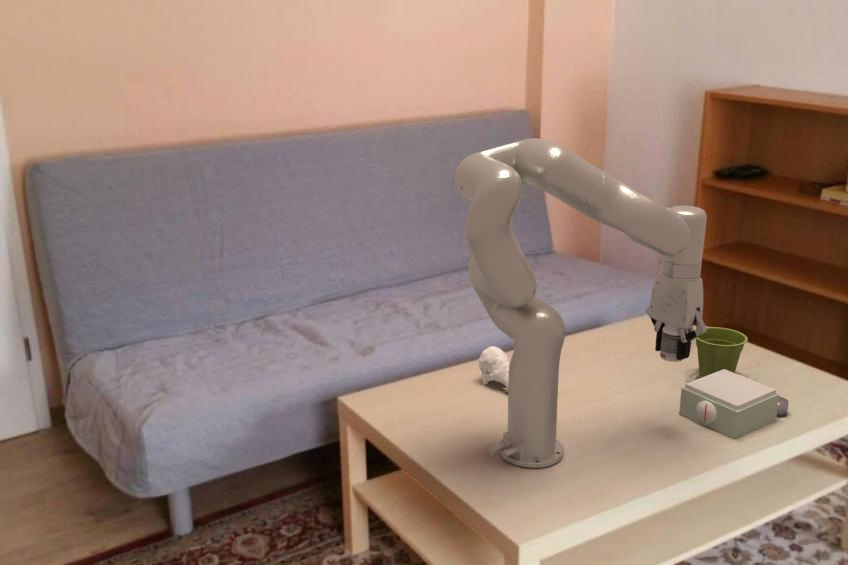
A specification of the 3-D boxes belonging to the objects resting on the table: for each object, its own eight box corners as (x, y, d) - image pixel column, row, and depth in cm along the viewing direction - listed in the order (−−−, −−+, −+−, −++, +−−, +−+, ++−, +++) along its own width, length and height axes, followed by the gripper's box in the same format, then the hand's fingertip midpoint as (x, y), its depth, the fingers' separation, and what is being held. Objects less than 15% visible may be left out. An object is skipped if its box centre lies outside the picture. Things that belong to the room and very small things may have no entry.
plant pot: (753, 383, 205) (758, 337, 201) (720, 396, 198) (725, 349, 195) (711, 366, 214) (715, 322, 210) (678, 378, 207) (682, 333, 204)
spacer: (779, 419, 187) (780, 407, 187) (760, 412, 191) (762, 399, 190) (791, 414, 190) (792, 401, 189) (773, 406, 193) (774, 394, 192)
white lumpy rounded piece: (498, 340, 208) (531, 361, 199) (495, 372, 211) (528, 394, 202) (476, 346, 204) (509, 368, 195) (474, 379, 208) (506, 401, 199)
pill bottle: (684, 363, 178) (688, 324, 175) (660, 361, 179) (664, 322, 176) (682, 354, 182) (687, 316, 180) (659, 352, 183) (663, 314, 181)
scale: (732, 439, 179) (735, 408, 177) (677, 414, 190) (679, 384, 188) (775, 420, 187) (779, 389, 185) (720, 396, 198) (723, 367, 196)
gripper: (635, 261, 179) (627, 344, 185) (703, 283, 166) (693, 372, 172) (660, 255, 183) (652, 337, 189) (729, 276, 170) (718, 363, 176)
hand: (672, 353), depth 180 cm, fingers closed on pill bottle, 4 cm apart
